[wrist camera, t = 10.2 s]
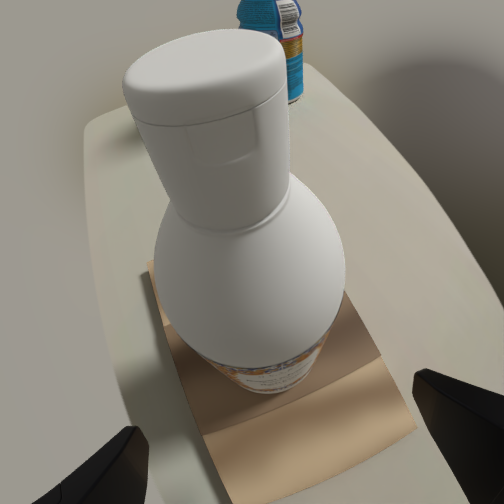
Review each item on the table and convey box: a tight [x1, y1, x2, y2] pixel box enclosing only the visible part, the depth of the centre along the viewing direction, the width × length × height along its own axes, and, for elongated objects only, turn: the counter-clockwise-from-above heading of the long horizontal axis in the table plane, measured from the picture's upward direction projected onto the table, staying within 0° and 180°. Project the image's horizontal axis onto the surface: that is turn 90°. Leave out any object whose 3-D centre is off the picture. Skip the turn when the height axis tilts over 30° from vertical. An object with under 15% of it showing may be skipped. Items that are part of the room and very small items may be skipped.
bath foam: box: [122, 29, 345, 394], centre depth 13 cm, size 7×7×20 cm
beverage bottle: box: [237, 0, 303, 103], centre depth 33 cm, size 8×8×20 cm
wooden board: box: [147, 260, 418, 504], centre depth 22 cm, size 22×14×1 cm, turn 23°
